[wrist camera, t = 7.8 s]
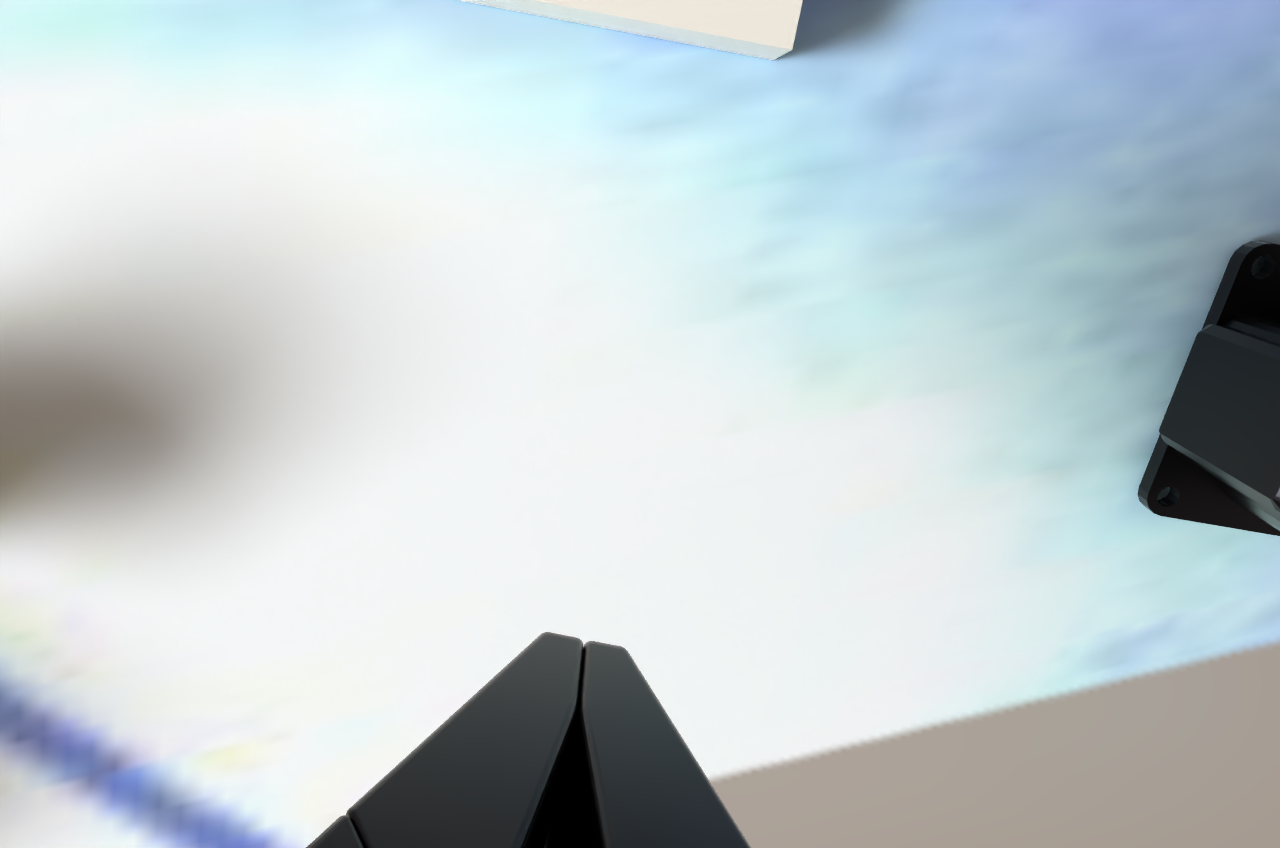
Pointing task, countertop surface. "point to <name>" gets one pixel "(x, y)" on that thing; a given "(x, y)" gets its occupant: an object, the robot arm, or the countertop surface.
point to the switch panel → (681, 20)
